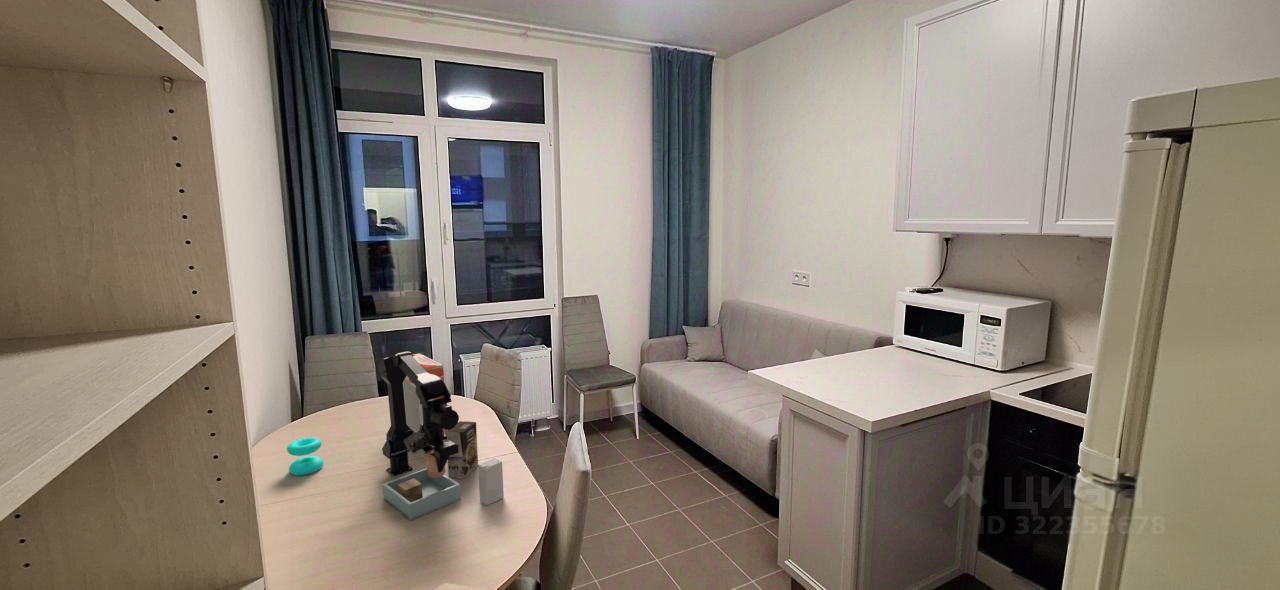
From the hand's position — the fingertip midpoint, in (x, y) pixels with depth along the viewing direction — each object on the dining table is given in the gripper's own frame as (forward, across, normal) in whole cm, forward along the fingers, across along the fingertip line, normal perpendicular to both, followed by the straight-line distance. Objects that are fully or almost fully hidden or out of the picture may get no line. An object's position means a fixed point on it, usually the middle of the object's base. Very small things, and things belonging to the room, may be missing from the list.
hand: (436, 469), depth 166 cm
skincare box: (+9, +14, +10) cm, 20 cm away
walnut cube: (+8, -3, -7) cm, 11 cm away
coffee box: (+9, -9, +14) cm, 19 cm away
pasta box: (+9, -48, +20) cm, 53 cm away
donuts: (+9, -50, -21) cm, 55 cm away
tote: (+9, -2, -4) cm, 10 cm away
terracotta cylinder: (+2, 0, 0) cm, 2 cm away
